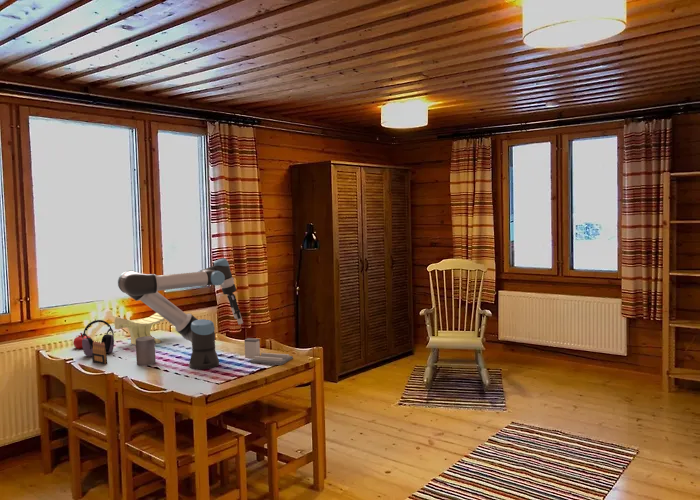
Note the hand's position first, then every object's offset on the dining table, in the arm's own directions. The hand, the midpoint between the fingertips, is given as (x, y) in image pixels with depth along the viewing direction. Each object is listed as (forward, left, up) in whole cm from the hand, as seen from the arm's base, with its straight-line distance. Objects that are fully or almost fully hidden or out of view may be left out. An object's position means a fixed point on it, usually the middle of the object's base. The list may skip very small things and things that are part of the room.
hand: (238, 320), depth 328 cm
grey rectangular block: (-7, -12, -18) cm, 23 cm away
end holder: (-11, -26, -18) cm, 33 cm away
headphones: (-24, +79, -19) cm, 85 cm away
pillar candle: (-33, +38, -19) cm, 54 cm away
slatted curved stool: (+8, +73, -19) cm, 76 cm away
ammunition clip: (-39, +64, -19) cm, 77 cm away
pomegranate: (-13, +102, -19) cm, 105 cm away
